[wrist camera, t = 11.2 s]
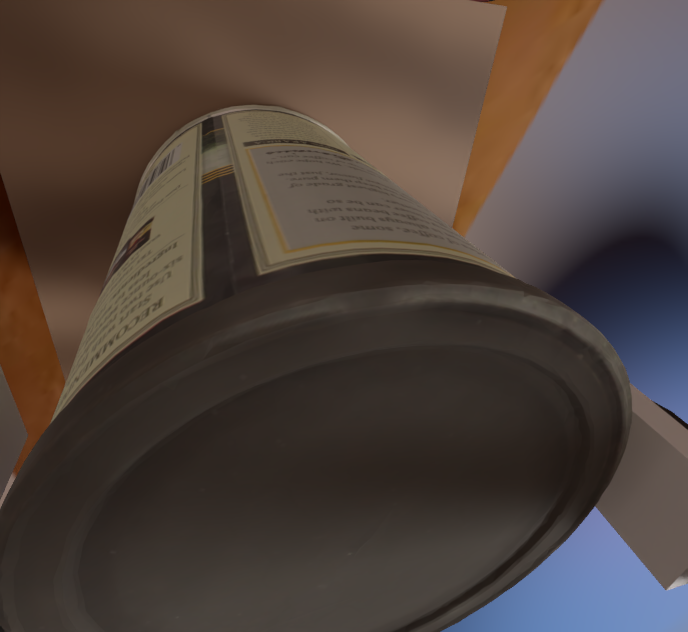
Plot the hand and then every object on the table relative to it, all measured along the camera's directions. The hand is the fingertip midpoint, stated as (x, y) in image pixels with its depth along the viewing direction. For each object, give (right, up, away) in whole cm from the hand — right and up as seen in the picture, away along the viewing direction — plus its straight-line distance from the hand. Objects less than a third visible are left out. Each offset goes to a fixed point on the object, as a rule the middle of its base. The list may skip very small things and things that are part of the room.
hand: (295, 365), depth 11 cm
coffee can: (-2, +5, +7) cm, 9 cm away
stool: (-5, +11, +17) cm, 21 cm away
